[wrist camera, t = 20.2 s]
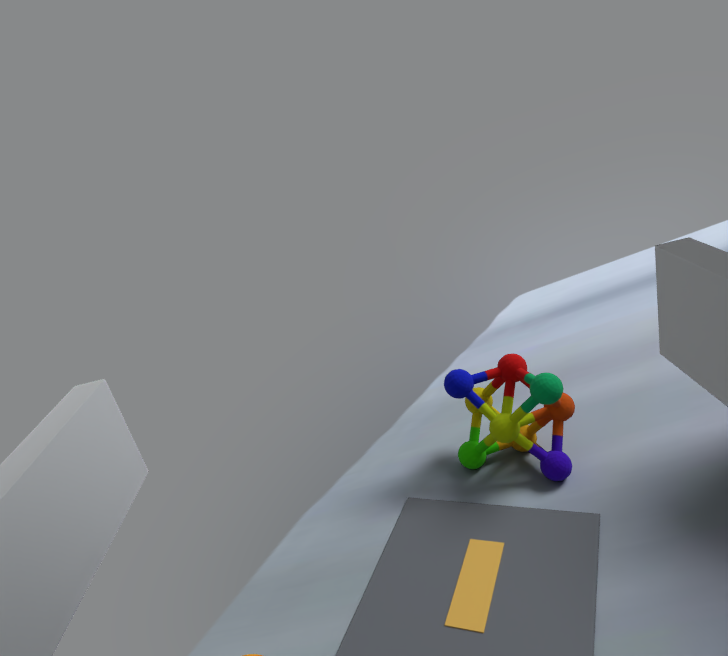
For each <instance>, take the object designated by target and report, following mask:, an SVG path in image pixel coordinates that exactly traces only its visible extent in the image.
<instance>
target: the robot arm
mask: <svg viewBox="0 0 728 656" xmlns="http://www.w3.org/2000/svg"><path fill="white" fill-rule="evenodd" d="M655 258H656V279H657V300H658V322H659V343H660V354H661V355H663V356H664V357H665V358H666V359H668V360H669V361H670V362H671V363H673V364H674V365H675V366H677V367H678V368H679V369H680V370H682V371H683V372H684V373H685V374H687V375H688V376H689V377H691V378H692V379H693V380H694V381H696V382H697V383H698V384H699V385H701V386H702V387H703V388H704V389H706V390H707V391H708V392H710V393H711V394H712V395H713V396H715V397H716V398H717V399H718V400H720V401H721V402H722V403H723V404H725V405H726V406H727V407H728V252H725V251H723V250H720V249H717V248H715V247H712V246H710V245H707V244H705V243H702V242H699V241H697V240H694V239H692V238H685V239H681V240H676V241H672V242H668V243H664V244H660V245H656V246H655ZM148 472H149V471H148V469H147V467H146V465H145V463H144V461H143V458H142V456H141V454H140V452H139V450H138V448H137V446H136V444H135V442H134V439H133V437H132V435H131V433H130V431H129V429H128V427H127V425H126V423H125V420H124V418H123V416H122V414H121V412H120V410H119V408H118V406H117V403H116V401H115V399H114V397H113V395H112V393H111V391H110V389H109V387H108V384H107V382H106V380H105V379H102V380H97V381H93V382H89V383H85V384H81V385H77V386H74V387H73V388H72V389H71V390H70V391H69V392H68V393H67V395H66V396H65V397H64V398H63V399H62V400H61V401H60V402H59V403H58V404H57V405H56V406H55V407H54V408H53V409H52V411H50V413H49V414H48V415H47V416H46V417H45V418H44V419H43V420H42V421H41V422H40V423H39V424H38V425H37V426H36V427H35V429H34V430H33V431H32V432H31V433H30V434H29V435H28V436H27V437H26V438H25V439H24V440H23V441H22V442H21V443H20V445H18V447H17V448H16V449H15V450H14V451H13V452H12V453H11V454H10V455H9V456H8V457H7V458H6V459H5V460H4V461H3V462H2V463H1V465H0V656H52V655H53V653H54V652H55V650H56V648H57V646H58V644H59V642H60V640H61V638H62V636H63V634H64V632H65V631H66V629H67V626H68V625H69V623H70V621H71V619H72V617H73V615H74V613H75V611H76V609H77V607H78V606H79V604H80V602H81V600H82V598H83V596H84V594H85V592H86V590H87V588H88V587H89V585H90V583H91V581H92V579H93V577H94V575H95V573H96V571H97V569H98V567H99V565H100V564H101V562H102V560H103V558H104V556H105V554H106V552H107V550H108V548H109V546H110V544H111V543H112V541H113V539H114V537H115V535H116V533H117V531H118V529H119V527H120V525H121V523H122V521H123V520H124V518H125V516H126V514H127V512H128V510H129V508H130V506H131V504H132V502H133V501H134V498H135V497H136V495H137V493H138V491H139V489H140V487H141V485H142V483H143V481H144V479H145V478H146V476H147V474H148Z"/></svg>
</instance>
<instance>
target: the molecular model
mask: <svg viewBox="0 0 728 656" xmlns="http://www.w3.org/2000/svg"><path fill="white" fill-rule="evenodd" d="M494 378H495V379H494ZM490 379H494V380H493V381H492V382H491V383H490V384H489V385H488V386H487V387H486V388H485V389H484V388H480V387H478V388H473V387H474V384H477V383H480V382H484V381H487V380H490ZM518 381H521V382H522V383H523V384H524V385H526V386H527V387H528V388H529V389H530V393H531V396H530V397H529V398H528V399H527V400H526V401H525V402H524V403H523V404H522V405H521V406H520V407H519V408H518V409H517V410H516V411H515V412H514V413H513V414H512V406H513V398H514V390H515V382H518ZM504 382H505V389H504V397H503V405H502V412H501V413H499V412H498V411H497V410H496V409H495V408H493V407H492V404H493V400H492V396H491V395H492V394H493V393H494V392H495V391H496V390H497V389H498V388H499V387H500V386H501V385H502V384H503V383H504ZM444 387H445V390H446V392H447V393H448V394H449V395H450V396H452V397H454V398H464V397H466V398H465V404H466V407H467V408H468V410H469V411H470V412H471V413H473V415H472V423H471V431H470V439H469V441H468V442H465V443H464V444H462V446H461V447H460V448H459V452H458V457H459V461H460V462H461V464H462V465H463V466H464V467H466V468H468V469H477V468H479V467H481V466H482V465H483V464H484V462H485V460H486V455H488V454H491V453H494V452H497V451H500V450H503V449H506V448H509V447H511V446H512V447H513V448H514V449H515V450H518V451H520V452H526V451H528V452H530V453H531V454H532V455H534V456H535V457H537V458H538V459H539V460H541V462H540V467H541V470H542V473H543V474H544V475H545V476H546V477H547V478H548V479H550V480H553V481H561V480H564V479H566V478H567V477H568V476H569V475H570V473H571V470H572V463H571V460H570V458H569V457H568V456H567V455H566V454H565V453H563V452H562V441H563V421H566V420H567V419H569V418H570V417H572V415H573V413H574V409H575V405H574V401H573V400H572V398H571V397H570V396H569V395H567V394H565V393H563V385H562V382H561V380H560V379H559V378H558V377H557V376H555V375H554V374H551V373H541V374H539V375H536V376H534V375H533V374H531V373H529V372H527V365H526V362H525V360H524V359H523V358H522V357H521V356H519V355H517V354H507V355H505V356H503V357H502V358H501V359H500V360H499V362H498V367H497V368H494V369H490V370H487V371H484V372H480V373H477V374H474V375H470V374H469V373H468V372H467V371H465V370H462V369H457V370H452V371H451V372H450V373H449V374H447V376H446V377H445V381H444ZM539 403H541V404H544V408H541V409H538V410H536V411H533V412H531V413H529V412H530V411H531V410H532V409H533V408H534V407H535V406H536V405H537V404H539ZM482 414H484V415H485V416H486V417H487V418H488V419H489V420H490V421H491V422H490V427H489V430H490V434H489V435H488V436H487V437H486V438H484V439H483V440H482V441H481V442H480V443H478V442H479V434H480V425H481V417H482ZM511 414H512V415H511ZM551 420H553V434H552V451H549V452H547V451H545V450H544V449H543V448H542V447H540V446H539V445H538V444H537V443H536V441H537V436H536V432H537V431H538V430H540V429H541V428H542V427H544V426H545V425H546V424H547V423H548V422H550V421H551ZM530 423H532V424H531V425H530V426H529V425H528V424H530ZM496 441H497V442H496Z"/></svg>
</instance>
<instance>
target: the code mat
mask: <svg viewBox="0 0 728 656" xmlns="http://www.w3.org/2000/svg"><path fill="white" fill-rule="evenodd" d="M599 526H600V514H594V513H582V512H570V511H559V510H547V509H535V508H524V507H512V506H500V505H489V504H477V503H465V502H454V501H442V500H430V499H419V498H408V499H407V501H406V503H405V506H404V508H403V510H402V512H401V514H400V516H399V519H398V521H397V523H396V525H395V527H394V530H393V532H392V534H391V536H390V538H389V541H388V543H387V545H386V547H385V549H384V551H383V554H382V556H381V558H380V560H379V562H378V565H377V567H376V569H375V571H374V573H373V576H372V578H371V580H370V582H369V584H368V586H367V589H366V591H365V593H364V595H363V597H362V600H361V602H360V604H359V606H358V608H357V611H356V613H355V615H354V617H353V619H352V621H351V624H350V626H349V628H348V630H347V632H346V635H345V637H344V639H343V641H342V643H341V646H340V648H339V650H338V652H337V654H336V656H594V634H595V612H596V591H597V569H598V548H599Z"/></svg>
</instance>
